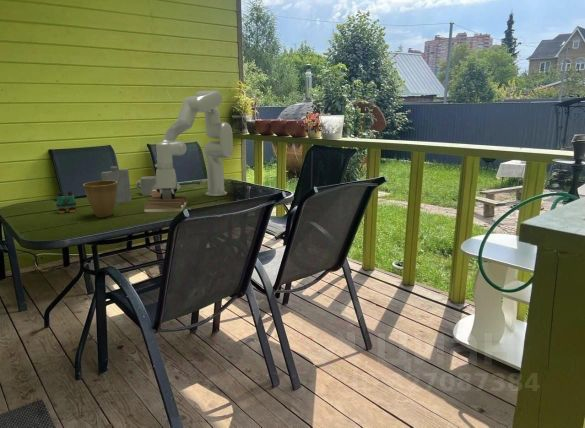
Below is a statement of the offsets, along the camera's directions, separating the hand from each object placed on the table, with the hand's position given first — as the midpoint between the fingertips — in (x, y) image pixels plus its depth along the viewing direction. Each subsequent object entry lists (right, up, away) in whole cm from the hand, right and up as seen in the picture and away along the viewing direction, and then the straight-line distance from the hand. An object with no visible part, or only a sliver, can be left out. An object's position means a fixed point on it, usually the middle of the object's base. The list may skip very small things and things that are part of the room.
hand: (168, 200), depth 230 cm
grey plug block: (0, -1, 0) cm, 1 cm away
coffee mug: (-22, +5, +35) cm, 42 cm away
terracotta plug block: (-9, -1, +10) cm, 13 cm away
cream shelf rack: (0, -4, -3) cm, 5 cm away
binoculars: (-49, -6, -9) cm, 50 cm away
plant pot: (-26, -8, -18) cm, 33 cm away
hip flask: (-31, -1, +11) cm, 32 cm away
